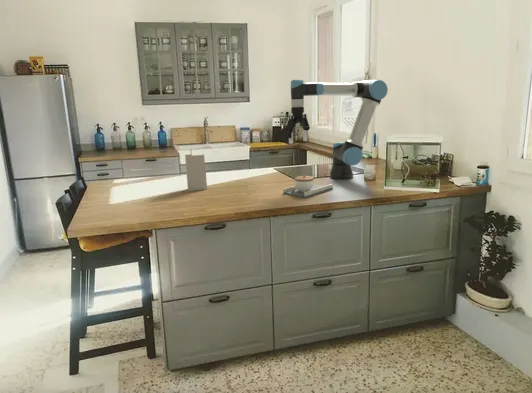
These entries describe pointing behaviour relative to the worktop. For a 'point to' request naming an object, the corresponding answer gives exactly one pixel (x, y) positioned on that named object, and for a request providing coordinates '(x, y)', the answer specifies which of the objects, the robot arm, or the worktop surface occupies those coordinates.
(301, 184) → the lidded jar
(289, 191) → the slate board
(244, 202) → the worktop surface
